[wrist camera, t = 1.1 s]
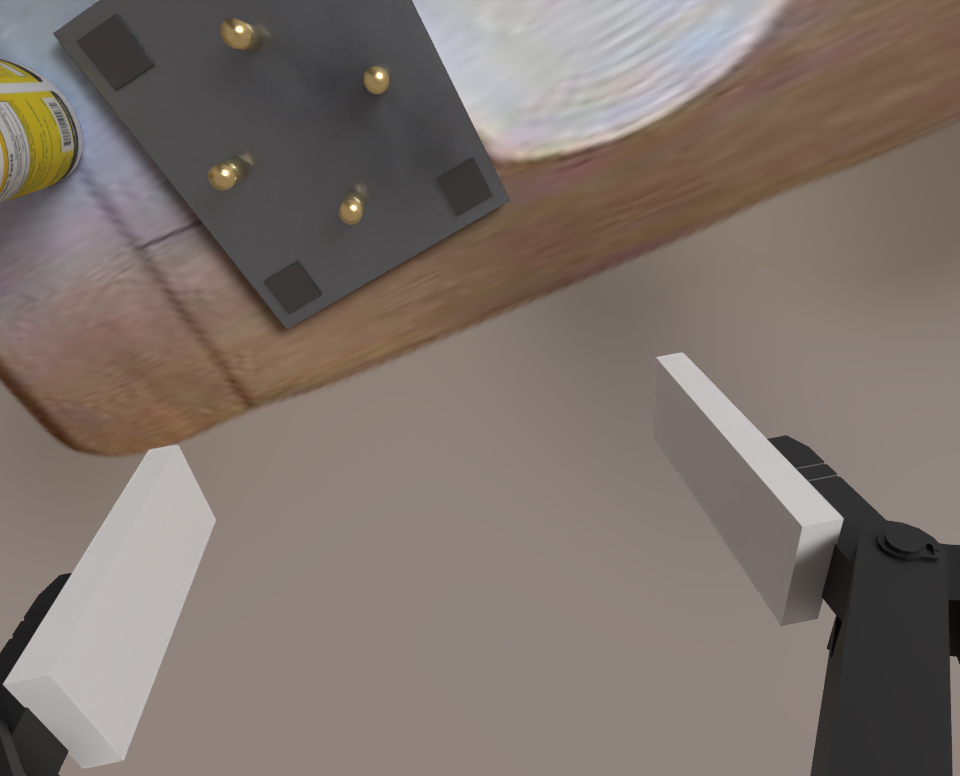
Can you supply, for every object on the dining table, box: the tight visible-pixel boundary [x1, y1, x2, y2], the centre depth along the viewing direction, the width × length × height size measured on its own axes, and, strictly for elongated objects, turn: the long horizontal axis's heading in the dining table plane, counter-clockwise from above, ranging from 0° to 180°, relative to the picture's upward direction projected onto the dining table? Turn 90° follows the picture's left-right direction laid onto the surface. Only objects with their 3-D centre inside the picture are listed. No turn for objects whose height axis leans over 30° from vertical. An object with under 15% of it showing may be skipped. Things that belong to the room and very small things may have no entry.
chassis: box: [53, 0, 510, 329], centre depth 30 cm, size 18×16×4 cm
